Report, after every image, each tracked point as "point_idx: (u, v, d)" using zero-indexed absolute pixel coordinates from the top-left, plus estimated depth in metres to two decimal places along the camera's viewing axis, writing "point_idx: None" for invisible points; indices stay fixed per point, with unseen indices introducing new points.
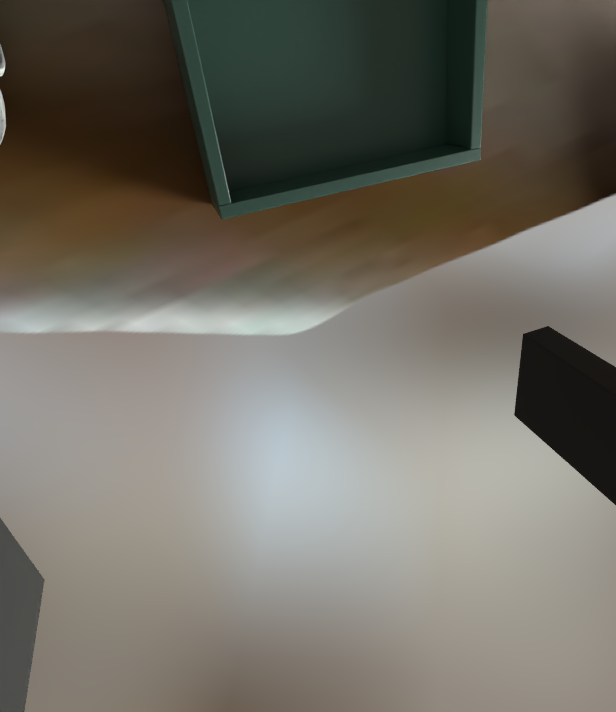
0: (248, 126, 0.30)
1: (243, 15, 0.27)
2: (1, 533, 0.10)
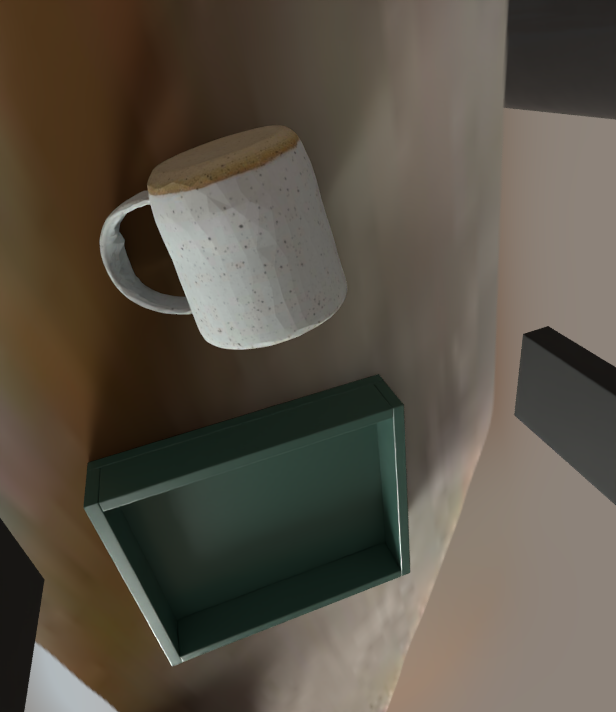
0: None
1: (256, 468, 0.34)
2: (1, 533, 0.10)
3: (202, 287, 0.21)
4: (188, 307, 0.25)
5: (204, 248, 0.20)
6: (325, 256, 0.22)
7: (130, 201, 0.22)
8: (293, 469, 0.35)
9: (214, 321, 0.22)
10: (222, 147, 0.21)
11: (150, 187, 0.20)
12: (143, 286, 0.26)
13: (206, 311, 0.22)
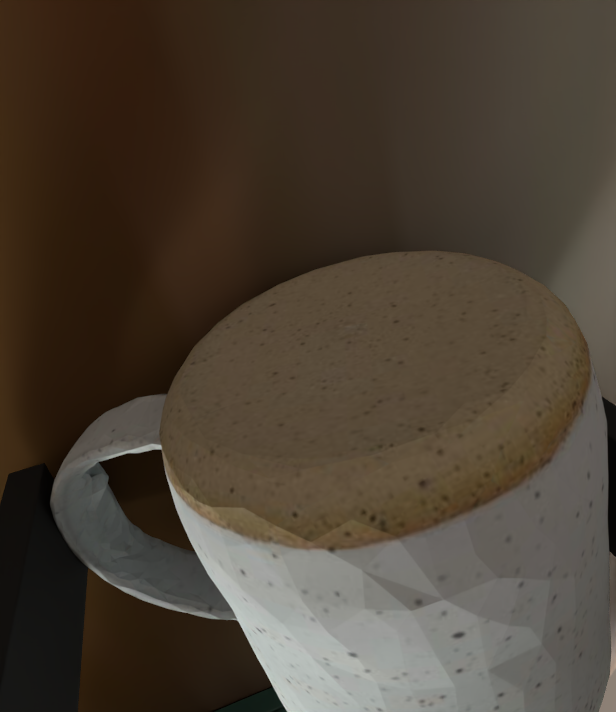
0: None
1: None
2: None
3: (305, 696, 0.08)
4: None
5: (329, 660, 0.07)
6: (608, 590, 0.09)
7: (117, 441, 0.09)
8: None
9: None
10: (353, 325, 0.08)
11: (170, 467, 0.07)
12: (149, 543, 0.13)
13: None
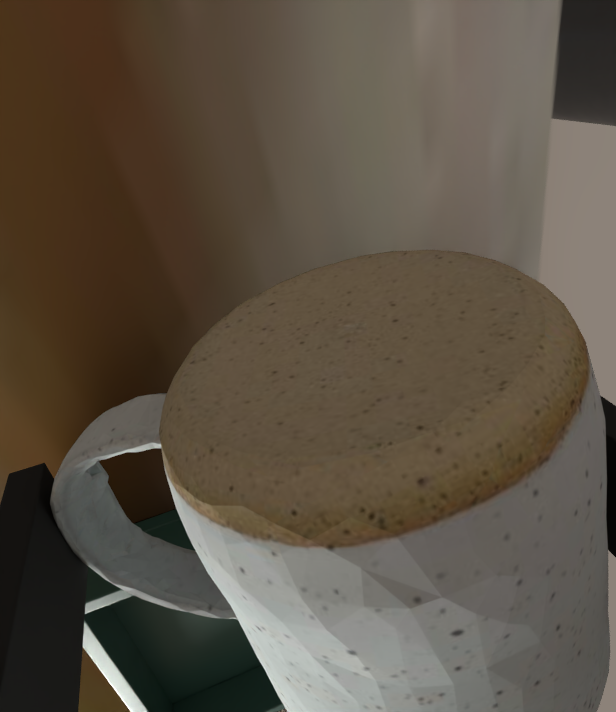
0: None
1: None
2: None
3: (305, 694, 0.08)
4: None
5: (328, 658, 0.07)
6: (607, 588, 0.09)
7: (117, 440, 0.09)
8: None
9: None
10: (352, 324, 0.08)
11: (170, 466, 0.07)
12: (148, 543, 0.13)
13: None
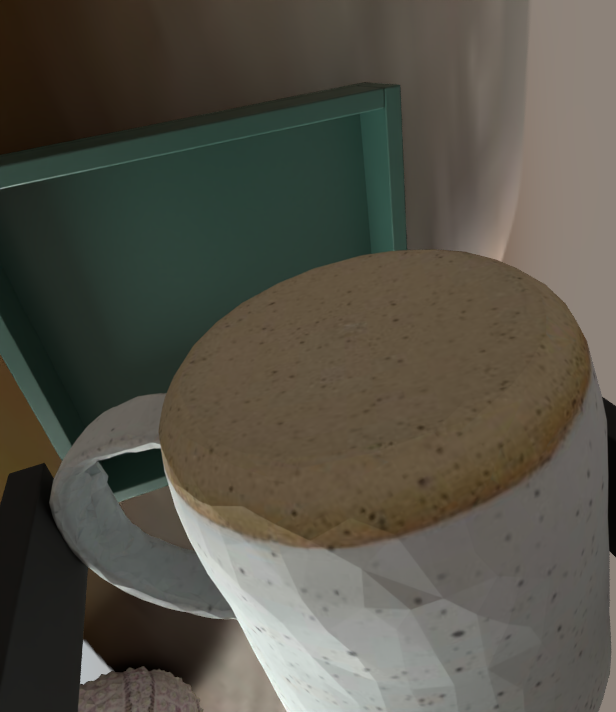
0: (70, 222, 0.23)
1: (194, 213, 0.24)
2: None
3: (305, 695, 0.08)
4: None
5: (328, 659, 0.07)
6: (608, 589, 0.09)
7: (117, 440, 0.09)
8: (249, 225, 0.25)
9: None
10: (353, 323, 0.08)
11: (169, 466, 0.07)
12: (148, 543, 0.13)
13: None
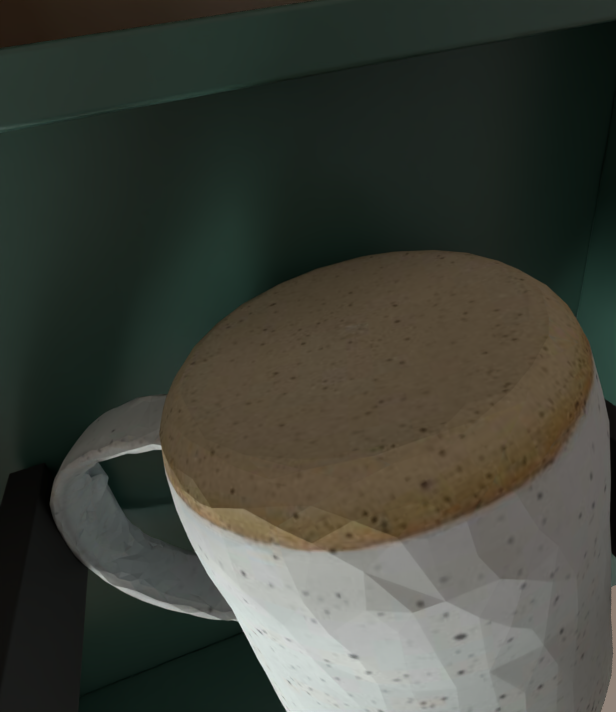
0: None
1: (248, 257, 0.11)
2: None
3: (306, 697, 0.08)
4: None
5: (330, 662, 0.07)
6: (610, 591, 0.09)
7: (117, 441, 0.09)
8: None
9: None
10: (354, 325, 0.08)
11: (170, 468, 0.07)
12: (148, 544, 0.13)
13: None
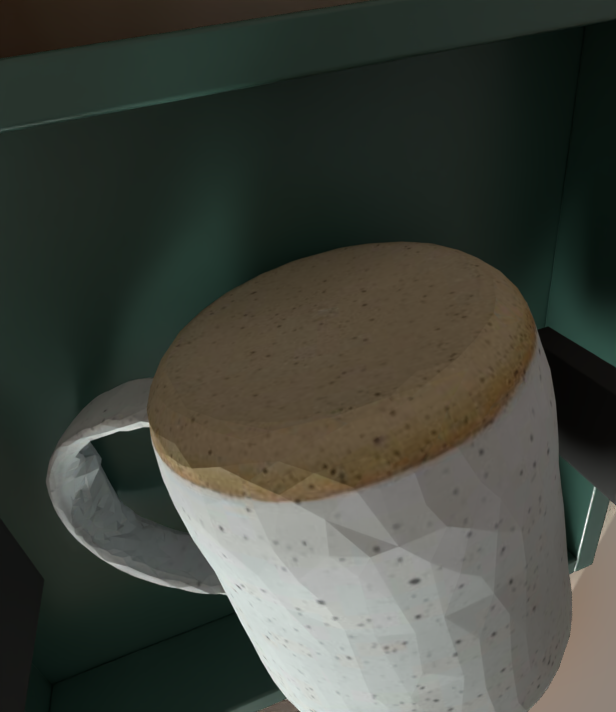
0: None
1: (232, 250, 0.11)
2: (1, 533, 0.10)
3: (283, 651, 0.09)
4: None
5: (301, 610, 0.07)
6: (564, 553, 0.09)
7: (109, 420, 0.10)
8: None
9: (304, 698, 0.10)
10: (326, 309, 0.09)
11: (156, 437, 0.08)
12: (140, 524, 0.13)
13: (288, 678, 0.09)
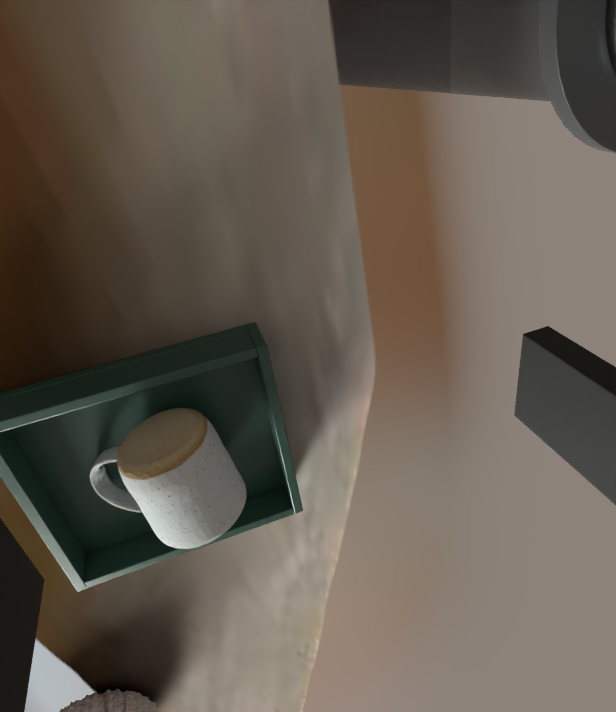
0: (64, 420, 0.36)
1: (144, 407, 0.38)
2: (1, 533, 0.10)
3: (150, 517, 0.35)
4: None
5: (149, 503, 0.34)
6: (225, 495, 0.36)
7: (107, 459, 0.36)
8: None
9: (159, 533, 0.36)
10: (162, 432, 0.35)
11: (118, 465, 0.34)
12: (118, 490, 0.40)
13: (154, 527, 0.36)
